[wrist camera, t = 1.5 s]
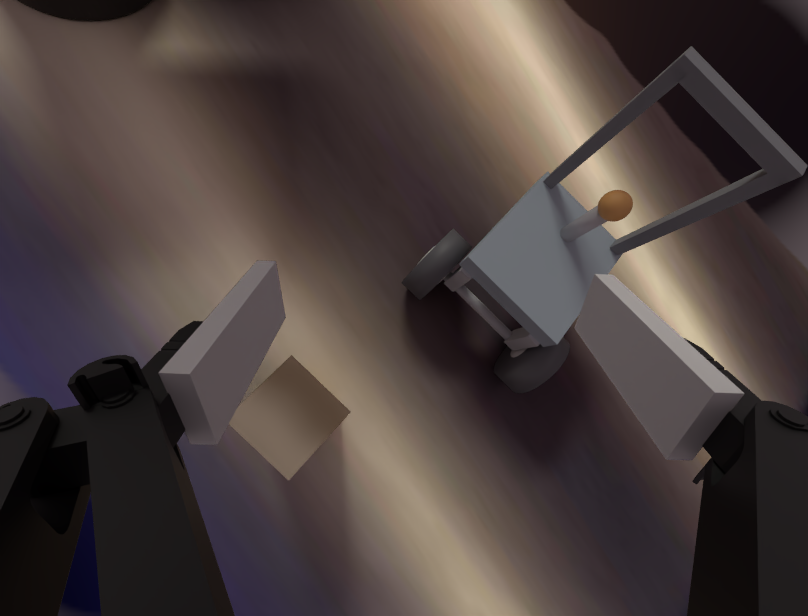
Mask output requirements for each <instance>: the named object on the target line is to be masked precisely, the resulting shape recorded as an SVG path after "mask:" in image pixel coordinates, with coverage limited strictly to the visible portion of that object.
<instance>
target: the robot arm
mask: <svg viewBox="0 0 808 616" xmlns="http://www.w3.org/2000/svg"><path fill="white" fill-rule="evenodd" d="M18 1H20V2H22V3H24V4H25V5H27V6H29V7H32V8H34V9H36V10H39V11H41V12H44V13H47V14H50V15H54V16H58V17H62V18H68V19H75V20H105V19H112V18H117V17H121V16H124V15H127V14H130V13H132V12H135V11H137V10H139V9H140V8H142V7H144V6H145V5H147V4H148V3H149V2H150V1H151V0H18ZM284 319H285V311H284V305H283V299H282V294H281V288H280V282H279V276H278V270H277V264H276V261H256V262H255V263H254V265H253V266H252V267H251V268H250V269H249V270H248V271H247V273H246V274H245V275H244V276H243V277H242V278H241V279H240V281H239V282H238V283H237V284H236V285H235V286H234V287H233V289H232V290H231V291H230V292H229V293H228V294H227V295H226V297H225V298H224V299H223V300H222V301H221V302H220V303H219V304H218V306H217V307H216V308H215V309H214V310H213V311H212V312H211V314H210V315H209V316H208V317H207V318H206V319H205V320H204V321H193V322H191V323H190V324H188V325H186V326H185V327H183V328H181V329H180V330H178V332H177V333H176V334H175V335H174V336H173V337H172V338H171V339H170V340H169V342H167V343H166V344H165V345H164V346H163V347H162V348H161V351H159V352H158V353H157V354H156V355H155V356H154V357H153V358H152V359H151V360H150V361H149V362H148V363H147V364H146V365H145V366H144V367H143V368H142V369H141V368H140V366H139V364H138V362H137V361H136V360H135V359H134V357H130V356H127V355H116V356H110V357H106V358H102V359H99V360H97V361H94V362H92V363H89V364H87V365H86V366H84V367H83V368H81V369H79V370H78V371H77V372H76V373H75V374H74V375H73V376H72V377H71V378H70V380H69V383H68V387H69V388H70V390H71V391H72V393H73V394H74V396H75V398H76V399H77V401H78V402H79V404H80V405H78V406H73V407H68V408H63V409H57V410H53V409H52V407H51V406H50V405H49V403H48V402H47V401H46V400H45V399H43V398H37V397H32V398H24V399H19V400H16V401H13V402H10V403H7V404H4V405H2V406H1V407H0V616H58V612H59V608H60V605H61V601H62V597H63V593H64V590H65V586H66V582H67V578H68V575H69V571H70V567H71V564H72V560H73V556H74V552H75V549H76V545H77V541H78V537H79V534H80V530H81V526H82V522H83V518H84V515H85V511H86V508H87V504H88V500H89V496H90V493H91V498H92V510H93V522H94V534H95V544H96V557H97V569H98V581H99V592H100V604H101V616H235V615H234V612H233V609H232V606H231V603H230V600H229V597H228V594H227V591H226V588H225V585H224V582H223V578H222V575H221V572H220V569H219V566H218V563H217V560H216V557H215V554H214V551H213V548H212V545H211V542H210V539H209V536H208V533H207V530H206V527H205V524H204V521H203V518H202V515H201V512H200V509H199V506H198V503H197V500H196V497H195V494H194V491H193V488H192V485H191V482H190V479H189V476H188V473H187V470H186V467H185V464H184V461H183V458H182V455H181V452H180V449H179V447H178V445H177V442H178V440H179V439H180V437H181V436H182V434H183V433H184V431H185V433H186V435H187V437H188V440H189V442H190V444H201V445H218V443H219V441H220V439H221V437H222V435H223V433H224V432H225V430H226V428H227V426H228V424H229V422H230V420H231V419H232V417H233V415H234V413H235V411H236V409H237V407H238V405H239V404H240V402H241V400H242V398H243V396H244V394H245V392H246V390H247V389H248V387H249V385H250V383H251V381H252V379H253V377H254V375H255V374H256V372H257V370H258V368H259V366H260V364H261V362H262V360H263V359H264V357H265V355H266V353H267V351H268V349H269V347H270V346H271V344H272V342H273V340H274V338H275V336H276V334H277V332H278V331H279V329H280V327H281V325H282V323H283V321H284ZM575 330H576V331H577V333H578V334H579V335H580V337H581V338H582V340H583V341H584V343H585V344H586V345H587V347H588V348H589V350H590V351H591V353H592V354H593V355H594V357H595V358H596V360H597V361H598V363H599V364H600V365H601V367H602V368H603V370H604V371H605V373H606V374H607V375H608V377H609V378H610V380H611V381H612V383H613V384H614V385H615V387H616V388H617V390H618V391H619V393H620V394H621V395H622V397H623V398H624V400H625V401H626V403H627V404H628V405H629V407H630V408H631V410H632V411H633V413H634V414H635V415H636V417H637V418H638V420H639V421H640V423H641V424H642V425H643V427H644V428H645V430H646V431H647V433H648V434H649V435H650V437H651V438H652V440H653V441H654V443H655V444H656V445H657V447H658V448H659V450H660V451H661V453H662V454H663V455H664V457H665V458H666V460H693V458H694V457H695V456H696V455H697V453H698V452H699V451H700V450H701V448H702V447H704V449H705V450H706V451H707V452H708V453H709V455H710V456H711V457H712V458H711V459H710V460H709V461H708V462H707V464H706V465H705V466H704V467H703V468H702V470H701V471H700V472H699V473H698V474H697V476H696V477H695V478H694V480H693V482H694V483H695V484H698V482H699V481H700V480H704V481H703V489H702V497H701V505H700V514H699V522H698V530H697V538H696V546H695V554H694V563H693V571H692V579H691V587H690V595H689V603H688V611H687V616H808V417H807V416H806V415H804V414H802V413H801V412H799V411H797V410H795V409H793V408H791V407H788V406H786V405H783V404H780V403H776V402H771V401H761V400H760V399H759V398H758V397H757V396H756V395H755V394H753V393H752V392H751V391H750V390H749V389H748V388H747V387H745V386H744V385H743V384H742V383H741V382H740V381H739V380H738V379H736V378H735V377H734V376H733V375H732V374H731V373H730V372H728V371H727V370H724V367H723V366H722V365H720V364H719V363H718V362H717V361H714V358H712V357H711V356H710V355H709V354H708V353H707V352H706V351H705V350H703V349H702V348H701V347H699V346H697V345H696V344H694V343H692V342H690V341H689V340H687V339H685V338H683V337H681V336H680V335H679V334H678V333H677V332H676V331H675V330H674V329H673V328H671V327H670V326H669V325H668V324H667V323H666V322H665V321H664V320H663V319H661V318H660V317H659V316H658V315H657V314H656V313H655V312H654V311H653V310H651V309H650V308H649V307H648V306H647V305H646V304H645V303H644V302H643V301H641V300H640V299H639V298H638V297H637V296H636V295H635V294H634V293H633V292H632V291H630V290H629V289H628V288H627V287H626V286H625V285H624V284H623V283H622V282H620V281H619V280H618V279H617V278H616V277H615V276H614V275H608V274H594V277H593V279H592V282H591V285H590V288H589V290H588V293H587V296H586V298H585V301H584V304H583V306H582V309H581V312H580V315H579V317H578V320H577V323H576V325H575Z"/></svg>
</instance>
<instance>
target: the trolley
mask: <svg viewBox="0 0 808 616" xmlns="http://www.w3.org/2000/svg"><path fill="white" fill-rule="evenodd" d="M678 83H680V84H681V85H682V86H683V87H684V88H685V89H686V90H687V91H688V92H689V93H690V94H691V95H692V96H693V97H694V98H695V100H696V101H697V102H698V103H699V104H700V105H701V106H702V107H703V108H704V109H705V110H706V111H707V112H708V113H709V114H710V115H711V116H712V117H713V118H714V119H715V120H716V121H717V122H718V123H719V124H720V125H721V126H722V127H723V128H724V129H725V130H726V131H727V132H728V133H729V134H730V135H731V136H732V137H733V138H734V139H735V140H736V142H738V143H739V145H740V146H741V147H742V148H743V149H744V150H745V151H746V152H747V153H748V154H749V155H750V156H751V157H752V158H753V159H754V160H755V161H756V162H757V163H758V164H759V165H760V166H761V167H762V168H763V169H762V170H760V171H757V172H755V173H753V174H751V175H749V176H747V177H745V178H743V179H741V180H739V181H737V182H735V183H733V184H731V185H729V186H726V187H724V188H722V189H720V190H718V191H716V192H714V193H712V194H710V195H708V196H706V197H704V198H702V199H700V200H698V201H696V202H693V203H691V204H689V205H687V206H685V207H683V208H681V209H679V210H677V211H675V212H673V213H671V214H669V215H667V216H665V217H663V218H661V219H658V220H656V221H654V222H652V223H650V224H648V225H646V226H644V227H642V228H640V229H638V230H636V231H634V232H632V233H630V234H628V235H625V236H623V237H621V238H619V239H617V240H616V239H615V238H614V237H613V236H612V235H611V234H610V233H609V232H608V231H607V230H606V229H605V228H604V227H603V226H602V225H601V224H603V223H605V222H607V221H619V220H621V219H623V218H625V217H626V216H627V215H628V214H629V213H630V211H631V209H632V206H633V201H632V198H631V196H630V195H629V194H628V193H627V192H625V191H622V190H614V191H610V192H608V193H606V194H605V195H604V196H603V197H602V198H601V199H600V201H599V203H598V206H596V207H595V208H593V209H591V210H590V211H587V210H586V209H585V208H584V207H583V206H582V205H581V204H580V203H579V202H578V201H577V200H576V199H575V198H574V197H573V196H572V195H571V194H570V193H569V192H568V191H567V190H566V189H565V188H564V187H563V186H562V185H561V184H560V183H559V182H560V181H562V180H563V179H564V178H565V177H566V176H568V175H569V174H570V173H571V172H572V171H574V170H575V169H576V168H577V167H578V166H579V165H581V164H582V163H583V162H584V161H585V160H587V159H588V158H589V157H590V156H591V155H593V154H594V153H595V152H596V151H597V150H599V149H600V148H601V147H602V146H603V145H605V144H606V143H607V142H608V141H609V140H611V139H612V138H613V137H614V136H615V135H617V134H618V133H619V132H620V131H621V130H623V129H624V128H625V127H626V126H627V125H629V124H630V123H631V122H632V121H633V120H634V119H636V118H637V117H638V116H639V115H640V114H642V113H643V112H644V111H645V110H646V109H648V108H649V107H650V106H651V105H652V104H654V103H655V102H656V101H657V100H658V99H660V98H661V97H662V96H663V95H664V94H665V93H667V92H668V91H669V90H670V89H671V88H673V87H674V86H675V85H676V84H678ZM806 168H807V165H806V164H805V163H804V162H803V160H802V159H801V158H800V157H798V155H796V153H795V152H794V151H793V150H792V149H791V148H790V147H789V146H788V145H787V144H786V143H785V142H784V141H783V140H782V139H781V138H780V137H779V136H778V135H777V134H776V133H775V132H774V131H773V130H772V129H771V128H770V127H769V126H768V124H767V123H766V122H765V121H763V119H762V118H761V117H760V116H759V115H758V114H757V113H756V112H755V111H754V110H753V109H752V108H751V107H750V106H749V105H748V104H747V103H746V102H745V101H744V100H743V99H742V98H741V97H740V96H739V95H738V94H737V93H736V92H735V91H734V89H733V88H731V86H730V85H729V84H728V83H727V82H726V81H725V80H724V79H723V78H722V77H721V76H720V75H719V74H718V73H717V72H716V71H715V70H714V69H713V68H712V67H711V66H710V65H709V64H708V63H707V62H706V61H705V60H704V59H703V58H702V57H701V56H700V55H699V53H698V52H697V51H696V50H695V49H694V48H693V47H690V48H689V49H688V50H687V51H685V52H684V53H683V54H682V55H681V56H680V57H679V58H678V59H677V60H676V61H674V62H673V63H672V64H671V65H670V66H669V67H668V68H667V69H666V70H665V71H663V72H662V73H661V74H660V75H659V76H658V77H657V78H656V79H654V80H653V81H652V82H651V83H650V84H649V85H648V86H647V87H646V88H645V89H643V90H642V91H641V92H640V93H639V94H638V95H637V96H636V97H635V98H633V99H632V100H631V101H630V102H629V103H628V104H627V105H626V106H625V107H624V108H622V109H621V110H620V111H619V112H618V113H617V114H616V115H615V116H614V117H612V118H611V119H610V120H609V121H608V122H607V123H606V124H605V125H604V126H603V127H601V128H600V129H599V130H598V131H597V132H596V133H595V134H594V135H593V136H592V137H590V138H589V139H588V140H587V141H586V142H585V143H584V144H583V145H582V146H580V147H579V148H578V149H577V150H576V151H575V152H574V153H573V154H572V155H571V156H569V157H568V158H567V159H566V160H565V161H564V162H563V163H562V164H561V165H559V166H558V167H557V168H556V169H555V170H554V171H553V172H552V173H551V174H550V173H549V172H547V173H546V174H544V175H543V176H542V177H541V178H540V179H539V180H538V181H537V182H536V183H535V184H534V185H533V186H532V187H531V188H530V189H529V190H528V191H527V192H526V193H525V195H524V196H523V197H522V198H521V199H520V200H519V201H518V202H517V203H516V204H515V205H514V206H513V207H512V208H511V209H510V210H509V212H508V213H507V214H506V215H505V216H504V217H503V218H502V219H501V220H500V221H499V222H498V223H497V224H496V225H495V226H494V228H493V229H492V230H491V231H490V232H489V233H488V234H487V235H486V236H485V237H484V238H483V239H482V240H481V241H480V242H479V244H478V245H477V246H476V247H475V248H474V249H473V250H472V251H471V252H470V253H469V254H468V255H467V256H466V257H465V258H464V259H463V261H462V262H461V263H460V264H459V265H460V266H461V267H460V268H458V269H457V270H456V271H455V272H454V273H453V274H452V273H451V271H452V269H453V268H454V267H455V266H456V265H457V264H458V263H459V262H460V260H461V259H462V258H463V257H464V256H465V255H466V254H467V253H468V252H469V251H470V249H471V248H472V247H471V246H470V245H469V244H468V243H467V242H466V241H465V240H464V239H463V238H462V237H461V236H460V235H459V234H458V233H457V232H456V231H455V230H454V229H452V230H451V231H450V232H449V233H448V234H447V235H446V236H445V237H444V238H443V239H442V240H441V241H440V242H439V243H438V244H437V245H436V246H434V247H433V248H432V249H431V250H430V251H429V252H428V253H427V254H426V255H425V256H424V257H423V258H422V259H421V260H420V262H419V263H418V264H417V266H416V267H415V268H414V269H413V270H412V271H411V272H410V273H409V274H408V275H407V277H406V278H405V279H404V280H403V281H402V284H403V285H404V286H405V287H406V288H408V289H409V290H410V291H411V292H412V293H413V294H414V295H415V296H416V297H417V298H418V299H419V300H421V299H422V298H423V297H424V296H425V295H427V294H428V293H429V292H430V291H431V290H432V289H433V288H434V287H435V286H436V285H437V284H438V283H439V282H441V281H442V280H444V281H445V282H444V284H445V285H446V286H447V287H448V288H449V289H450V290H451V291H452V292H454V291H456V292H457V293H458V294H459V295H460V296H461V297H462V298H463V299H464V300H465V301H466V302H467V303H468V304H469V305H470V306H471V307H472V308H473V309H474V310H475V311H476V312H477V313H478V314H479V315H480V316H481V317H482V318H483V319H484V320H485V321H486V322H487V323H488V324H489V325H490V326H491V327H492V328H493V329H494V330H495V331H496V332H497V333H498V334H499V335H500V336H501V337H503V338H504V339H505V341H504V343H505V344H506V345H507V347H506V348H505V349H504V350H503V352H502V353H501V354H500V356H499V357H498V359H497V361H496V363H495V366H494V373H495V374H496V375H497V376H498V377H499V378H500V379H501V380H502V381H503V382H504V383H505V384H506V385H507V386H508V387H509V388H510V389H511V390H512V391H513V392H515V393H525V392H528V391H531V390H533V389H535V388H537V387H538V386H540V385H542V384H543V383H544V382H546V381H547V380H548V379H549V378H550V377H552V376H553V375H554V374H555V373H556V372H557V371H558V369H559V368H560V367H561V366H562V364H563V363H564V361H565V360H566V358H567V356H568V353H569V350H570V345H569V342H568V341H567V340H566V339H565V338H564V337H563V336H564V335H565V333H566V332H567V330H568V329H569V328H570V326H571V325H572V323H573V322H574V321H575V319H576V318H577V316H578V315H579V314H580V312H581V309H582V306H583V304H584V301H585V298H586V296H587V293H588V290H589V288H590V285H591V282H592V279H593V277H594V274H608V273H609V272H610V271H611V269H612V268H613V266H614V265H615V264H616V262H617V261H618V259H619V258H620V257H621V255H622V254H623V253H624V252H627V251H629V250H631V249H634V248H636V247H638V246H641V245H643V244H645V243H648V242H650V241H652V240H655V239H657V238H659V237H661V236H664V235H666V234H668V233H671V232H673V231H675V230H678V229H680V228H682V227H685V226H687V225H689V224H692V223H694V222H696V221H699V220H701V219H703V218H706V217H708V216H710V215H712V214H715V213H717V212H719V211H722V210H724V209H726V208H729V207H731V206H733V205H736V204H738V203H740V202H743V201H745V200H747V199H749V198H752V197H754V196H757V195H759V194H761V193H763V192H766V191H768V190H770V189H773V188H775V187H777V186H780V185H782V184H784V183H787V182H789V181H791V180H794V179H796V178H798V177H800V176H802V175H803V174H804V172H805V170H806ZM472 278H474V279H475V280H476V281H477V282H478V283H479V284H480V285H481V286H482V287H483V288H484V289H485V290H486V291H487V292H488V293H489V294H490V295H491V296H492V297H493V298H494V299H495V300H496V301H497V302H498V303H499V304H500V305H501V306H502V307H503V308H504V309H505V310H506V311H507V312H508V313H509V314H510V315H511V316H512V317H513V318H514V319H515V320H516V321H517V322H518V323H519V324H520V325H521V326H522V328H519V329H515V330H513V331H512V332H511V331H510V330H509V329H508V328H507V327H506V326H505V325H504V324H503V323H502V322H501V321H500V320H499V319H498V318H497V317H496V316H495V315H494V314H493V313H492V312H491V311H490V310H489V309H488V308H487V307H486V306H485V305H484V304H483V303H482V302H481V301H480V300H479V299H478V298H477V297H476V296H475V295H474V294H473V293H472V292H471V291H470V290H469V289H468V288H467V287H466V286H465V285H464V284H465V283H467V282H468V281H470V280H471V279H472Z"/></svg>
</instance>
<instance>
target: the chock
mask: <svg viewBox="0 0 808 616" xmlns="http://www.w3.org/2000/svg"><path fill="white" fill-rule="evenodd" d="M349 413H350V411H349V410H348V409H347V408H346V407H345V406H344V405H343V404H342V403H341V402H340V401H339V400H338V399H337V398H336V397H335V396H334V395H332V394H331V393H330V392H329V391H328V390H327V389H326V388H325V387H324V386H323V385H322V384H321V383H320V382H319V381H318V380H317V379H316V378H315V377H314V376H313V375H312V374H311V373H310V372H308V371H307V370H306V369H305V368H304V367H303V366H302V365H301V364H300V363H299V362H298V361H297V360H296V359H295V358H294V357H293V356H292V355H291V356H290V357H289V358H288V359H287V360H286V361H285V362H284V363H283V364H282V365H281V366H280V367H279V368H278V369H277V370H276V371H275V372H274V373H273V374H272V375H271V376H270V377H268V378H267V379H266V380H265V381H264V382H263V383H262V384H261V385H260V386H259V387H258V388H257V389H256V390H255V391H254V392H253V393H252V394H251V395H250V396H249V397H248V398H247V399H246V400H245V401H243V402H242V403H241V404H240V405H239V406H238V407H237V409H236V411H235V413H234V415H233V417H232V419H231V420H230V422H229V425H230V426H231V427H232V428H233V429H234V430H235V431H236V432H237V433H239V434H240V435H241V436H242V437H243V438H244V439H245V440H246V441H247V442H248V443H249V444H250V445H251V446H252V447H253V448H254V449H255V450H257V451H258V452H259V453H260V454H261V455H262V456H263V457H264V458H265V459H266V460H267V461H268V462H269V463H270V464H271V465H272V466H273V467H275V468H276V469H277V470H278V471H279V472H280V473H281V474H282V475H283V476H284V477H285V478H286V479H287V480H288V481H289V480H290V479H291V478H292V476H293V475H294V474H295V473H296V472H297V471H298V470H299V469H300V468H301V466H302V465H303V464H304V463H305V462H306V461H307V460H308V459H309V458H310V456H311V455H312V454H313V453H314V452H315V451H316V450H317V449H318V448H319V447H320V445H321V444H322V443H323V442H324V441H325V440H326V439H327V438H328V437H329V435H330V434H331V433H332V432H333V431H334V430H335V429H336V428H337V427H338V425H339V424H340V423H341V422H342V421H343V420H344V419H345V418H346V417H347V416H348V414H349Z"/></svg>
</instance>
